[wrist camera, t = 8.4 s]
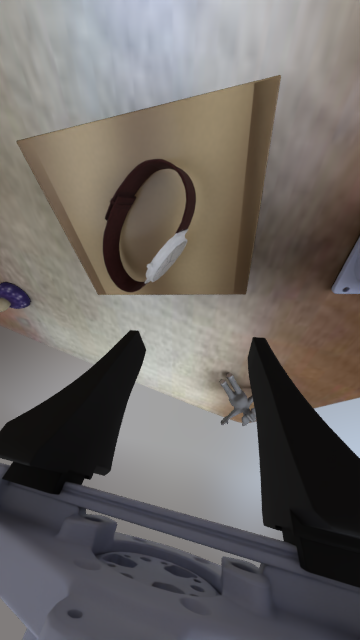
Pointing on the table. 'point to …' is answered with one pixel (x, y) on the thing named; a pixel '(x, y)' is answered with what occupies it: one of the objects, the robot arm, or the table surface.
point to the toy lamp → (12, 297)
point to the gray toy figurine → (238, 402)
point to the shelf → (165, 186)
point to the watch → (118, 215)
